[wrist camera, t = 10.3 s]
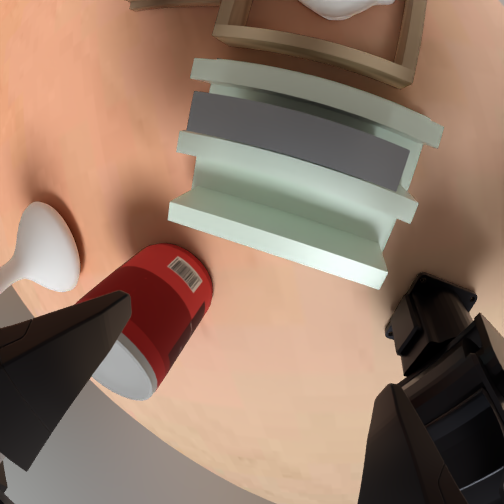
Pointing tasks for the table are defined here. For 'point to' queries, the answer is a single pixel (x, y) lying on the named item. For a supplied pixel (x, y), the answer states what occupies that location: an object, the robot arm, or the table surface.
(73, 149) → the table surface
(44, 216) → the flower in vase
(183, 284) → the canned food
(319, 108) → the dish rack
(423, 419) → the robot arm
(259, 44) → the garlic trivet frame
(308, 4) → the garlic
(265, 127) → the plate
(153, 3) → the plate stand
